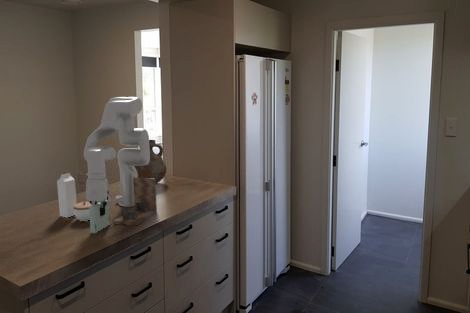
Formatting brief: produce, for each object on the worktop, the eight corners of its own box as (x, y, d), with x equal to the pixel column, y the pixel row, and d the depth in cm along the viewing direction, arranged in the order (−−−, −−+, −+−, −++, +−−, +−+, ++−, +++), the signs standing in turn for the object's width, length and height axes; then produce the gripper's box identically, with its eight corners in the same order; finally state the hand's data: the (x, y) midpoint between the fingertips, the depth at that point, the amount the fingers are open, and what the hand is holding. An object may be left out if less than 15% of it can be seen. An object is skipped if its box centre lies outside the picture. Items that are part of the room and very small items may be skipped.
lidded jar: (81, 224, 194) (79, 205, 192) (69, 220, 201) (68, 201, 199) (101, 219, 202) (99, 201, 200) (89, 214, 209) (88, 197, 207)
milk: (59, 216, 206) (55, 174, 202) (69, 213, 211) (65, 172, 207) (68, 218, 203) (64, 175, 199) (77, 215, 209) (74, 173, 205)
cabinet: (113, 223, 195) (111, 187, 192) (136, 210, 216) (134, 177, 213) (136, 225, 192) (134, 188, 189) (156, 211, 213) (155, 178, 210)
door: (90, 232, 183) (88, 207, 181) (105, 224, 194) (104, 200, 192) (95, 233, 182) (93, 207, 180) (110, 224, 193) (108, 200, 191)
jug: (135, 181, 282) (133, 138, 277) (166, 180, 286) (165, 137, 280) (133, 189, 261) (131, 143, 256) (167, 187, 265) (165, 142, 259)
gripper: (76, 177, 182) (79, 216, 185) (108, 178, 178) (110, 219, 181) (86, 173, 189) (89, 211, 193) (117, 175, 185) (119, 213, 188)
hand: (99, 214), depth 187 cm, fingers closed on door, 2 cm apart
